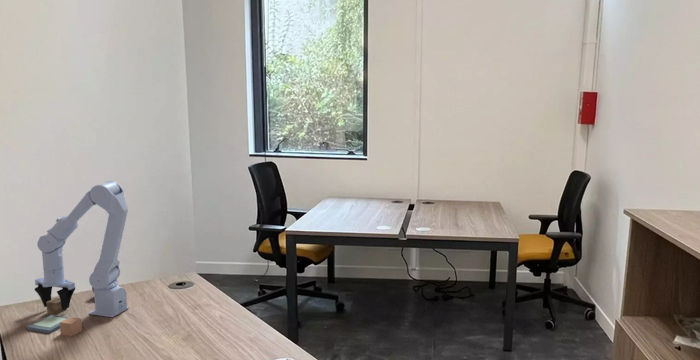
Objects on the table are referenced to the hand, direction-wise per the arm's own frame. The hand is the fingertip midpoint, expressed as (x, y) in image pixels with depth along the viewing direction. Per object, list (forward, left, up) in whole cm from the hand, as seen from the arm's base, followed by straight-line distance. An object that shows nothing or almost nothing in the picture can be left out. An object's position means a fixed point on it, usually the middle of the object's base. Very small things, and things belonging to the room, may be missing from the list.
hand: (56, 307), depth 163 cm
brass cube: (0, 0, -2) cm, 2 cm away
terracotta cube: (-17, +11, -2) cm, 20 cm away
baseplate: (-7, +9, -2) cm, 12 cm away
